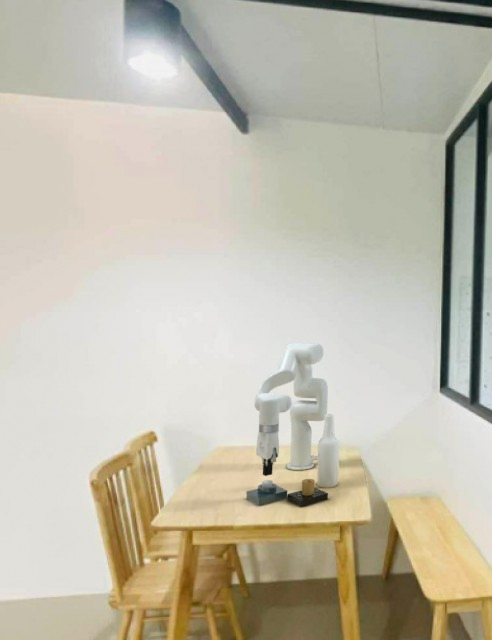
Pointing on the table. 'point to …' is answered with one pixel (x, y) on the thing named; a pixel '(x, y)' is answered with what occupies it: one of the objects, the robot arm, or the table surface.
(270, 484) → the light grey short cylinder
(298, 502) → the dial plate
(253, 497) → the push button box
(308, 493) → the dial
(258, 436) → the robot arm
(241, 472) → the table surface
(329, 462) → the alcohol
